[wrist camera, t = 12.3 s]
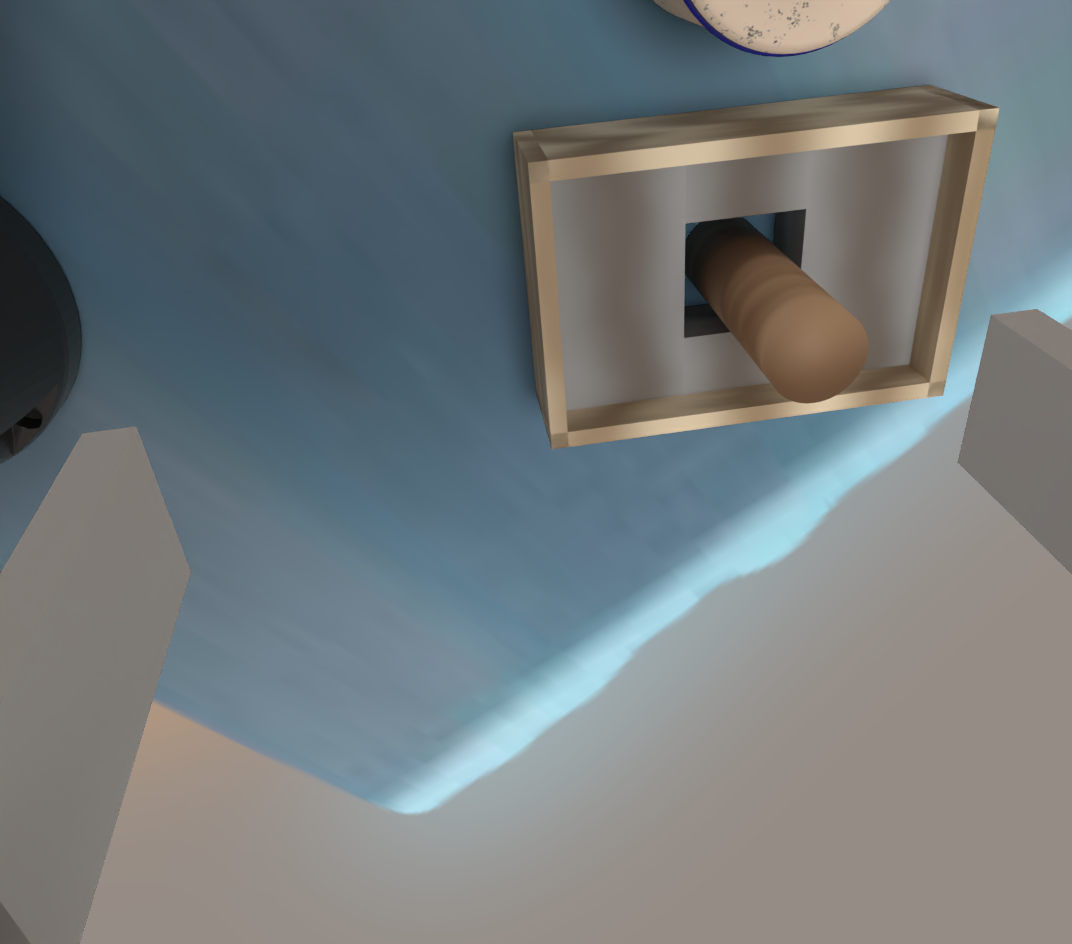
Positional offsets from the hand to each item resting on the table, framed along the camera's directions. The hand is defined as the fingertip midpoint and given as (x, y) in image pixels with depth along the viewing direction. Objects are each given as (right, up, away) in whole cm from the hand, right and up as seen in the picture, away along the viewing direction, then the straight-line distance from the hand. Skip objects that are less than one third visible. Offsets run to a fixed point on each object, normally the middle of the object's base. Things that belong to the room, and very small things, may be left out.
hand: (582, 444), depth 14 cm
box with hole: (+8, +10, +29) cm, 32 cm away
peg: (+8, +10, +29) cm, 32 cm away
